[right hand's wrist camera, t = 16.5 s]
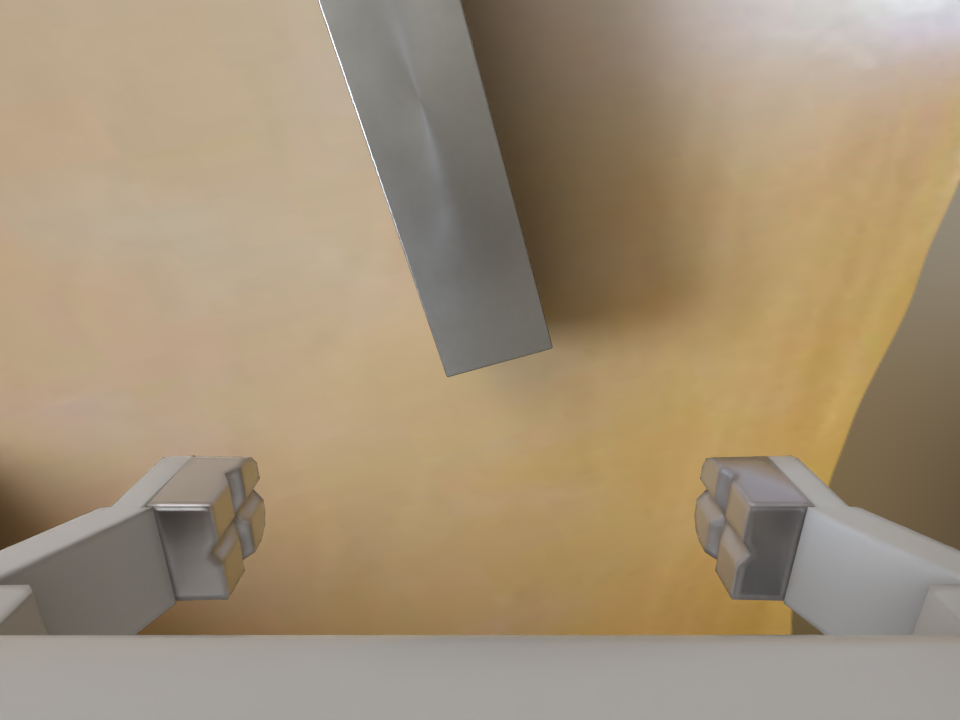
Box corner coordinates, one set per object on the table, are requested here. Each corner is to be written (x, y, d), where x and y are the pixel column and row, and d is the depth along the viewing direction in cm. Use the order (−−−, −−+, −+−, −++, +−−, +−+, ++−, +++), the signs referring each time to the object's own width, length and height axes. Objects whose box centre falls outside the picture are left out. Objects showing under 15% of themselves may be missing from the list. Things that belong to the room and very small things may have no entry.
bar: (535, 302, 34) (553, 348, 26) (454, 325, 34) (447, 378, 26) (410, -169, 26) (379, -312, 18) (306, -130, 26) (231, -251, 18)
